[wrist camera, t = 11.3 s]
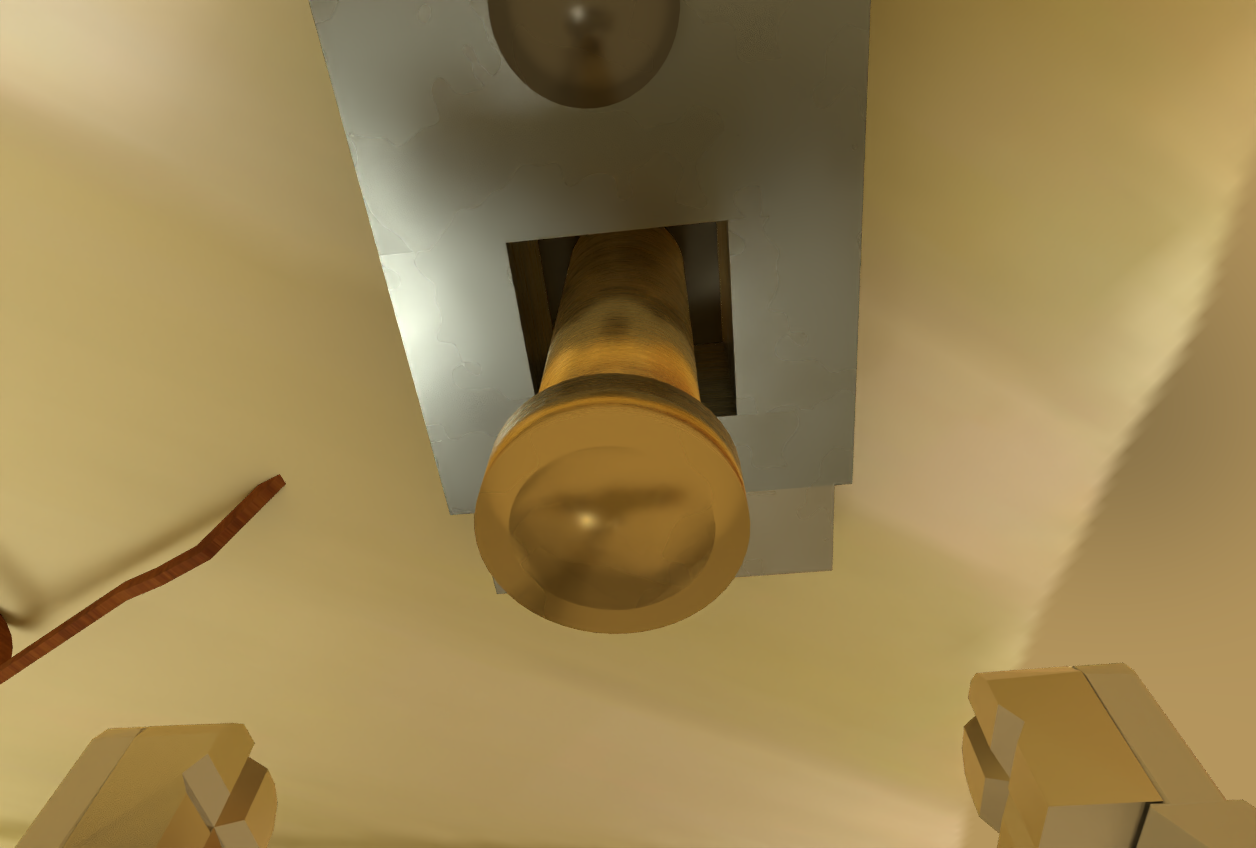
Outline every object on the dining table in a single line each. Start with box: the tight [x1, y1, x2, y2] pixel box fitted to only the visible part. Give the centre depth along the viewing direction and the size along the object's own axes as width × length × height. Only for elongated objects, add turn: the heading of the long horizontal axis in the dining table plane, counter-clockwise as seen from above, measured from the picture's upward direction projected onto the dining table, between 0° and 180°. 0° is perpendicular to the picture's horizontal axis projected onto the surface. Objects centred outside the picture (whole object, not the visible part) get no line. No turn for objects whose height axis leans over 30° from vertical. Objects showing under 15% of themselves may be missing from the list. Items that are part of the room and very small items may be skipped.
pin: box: [474, 227, 750, 634], centre depth 16 cm, size 4×4×11 cm
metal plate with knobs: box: [309, 0, 871, 594], centre depth 19 cm, size 18×10×5 cm, turn 6°
